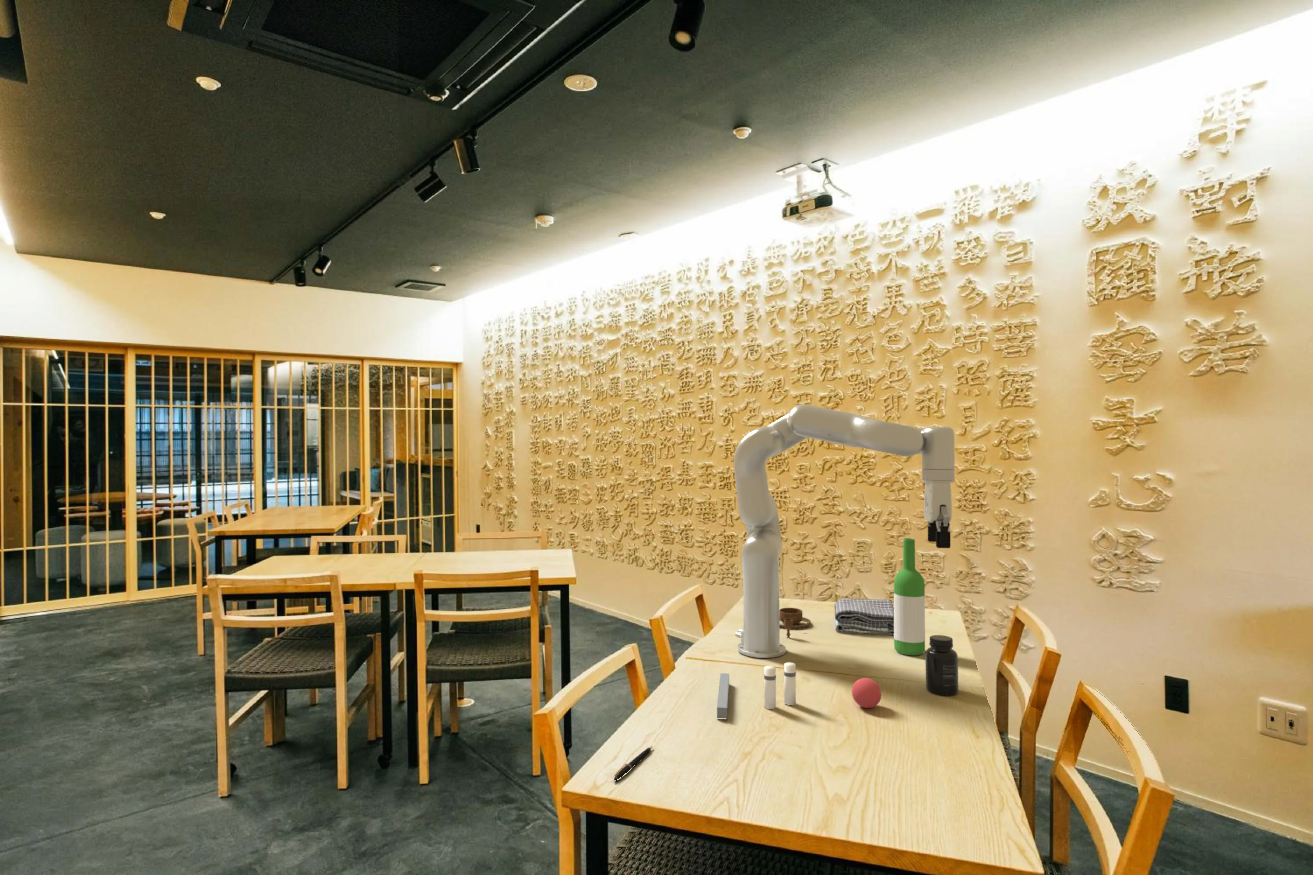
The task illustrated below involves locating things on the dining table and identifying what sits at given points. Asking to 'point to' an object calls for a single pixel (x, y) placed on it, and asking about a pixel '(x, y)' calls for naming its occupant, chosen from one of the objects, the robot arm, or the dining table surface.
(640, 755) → the fountain pen
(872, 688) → the ball
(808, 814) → the dining table surface
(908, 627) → the wine bottle
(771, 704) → the pin
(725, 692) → the gray square bar
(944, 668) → the supplement bottle
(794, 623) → the place setting
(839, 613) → the towel
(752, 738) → the dining table surface
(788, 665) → the pin
